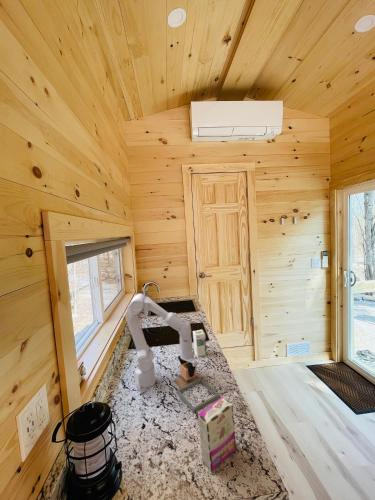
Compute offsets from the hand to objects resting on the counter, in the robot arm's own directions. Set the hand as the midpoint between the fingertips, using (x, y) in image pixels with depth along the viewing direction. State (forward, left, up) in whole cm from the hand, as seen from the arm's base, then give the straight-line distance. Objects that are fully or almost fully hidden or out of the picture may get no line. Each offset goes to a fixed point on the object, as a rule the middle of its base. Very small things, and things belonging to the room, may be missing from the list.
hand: (188, 373), depth 112 cm
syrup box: (+17, +14, -4) cm, 22 cm away
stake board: (-2, 0, -4) cm, 4 cm away
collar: (0, 0, -1) cm, 1 cm away
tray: (-3, -12, -4) cm, 13 cm away
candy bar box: (-12, -37, -4) cm, 39 cm away
